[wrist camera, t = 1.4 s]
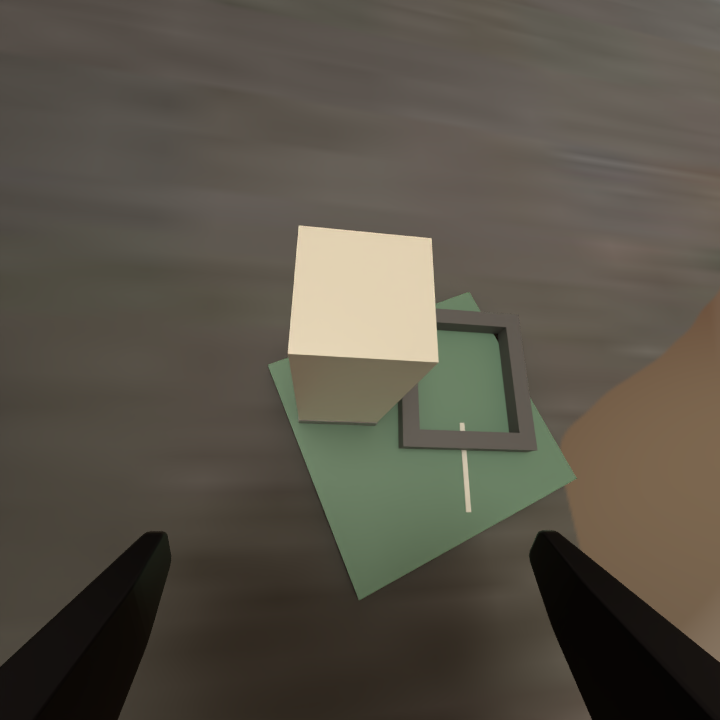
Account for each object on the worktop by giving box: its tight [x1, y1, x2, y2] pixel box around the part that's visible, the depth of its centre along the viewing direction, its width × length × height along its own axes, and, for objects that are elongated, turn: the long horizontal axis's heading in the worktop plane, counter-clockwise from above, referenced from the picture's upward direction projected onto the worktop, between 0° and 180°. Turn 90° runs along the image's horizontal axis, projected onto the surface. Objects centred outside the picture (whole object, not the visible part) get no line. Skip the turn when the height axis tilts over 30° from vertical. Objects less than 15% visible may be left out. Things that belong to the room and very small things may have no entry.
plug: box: [288, 226, 439, 426], centre depth 17 cm, size 5×5×12 cm
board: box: [268, 292, 577, 600], centre depth 23 cm, size 14×17×2 cm
